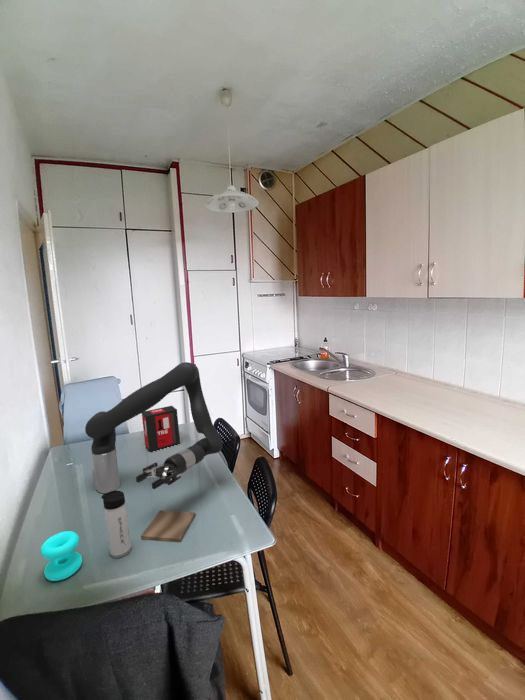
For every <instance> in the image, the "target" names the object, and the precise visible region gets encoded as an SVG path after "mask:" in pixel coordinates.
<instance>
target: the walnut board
mask: <svg viewBox="0 0 525 700" xmlns="http://www.w3.org/2000/svg"><path fill="white" fill-rule="evenodd" d="M196 516H197V515H196V512H191V511H190V512H189V511H176V510H175V511H174V510H159V511H158V512H157V513H156V515H155V516H154V517H153V518H152V520H151V522H150V523H149V524H148V525H147V527H146V528H145V530H144V531H143V532H142V534H141V535H140V539H141V540H143V541H144V540H147V541H160V542H170V543H171V542H173V543H181V542H182V541H183V539H184V537H185V535H186V533H187V532H188V530H189V528H190V527H191V525H192V523H193V521H194V519H195V518H196Z"/></svg>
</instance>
